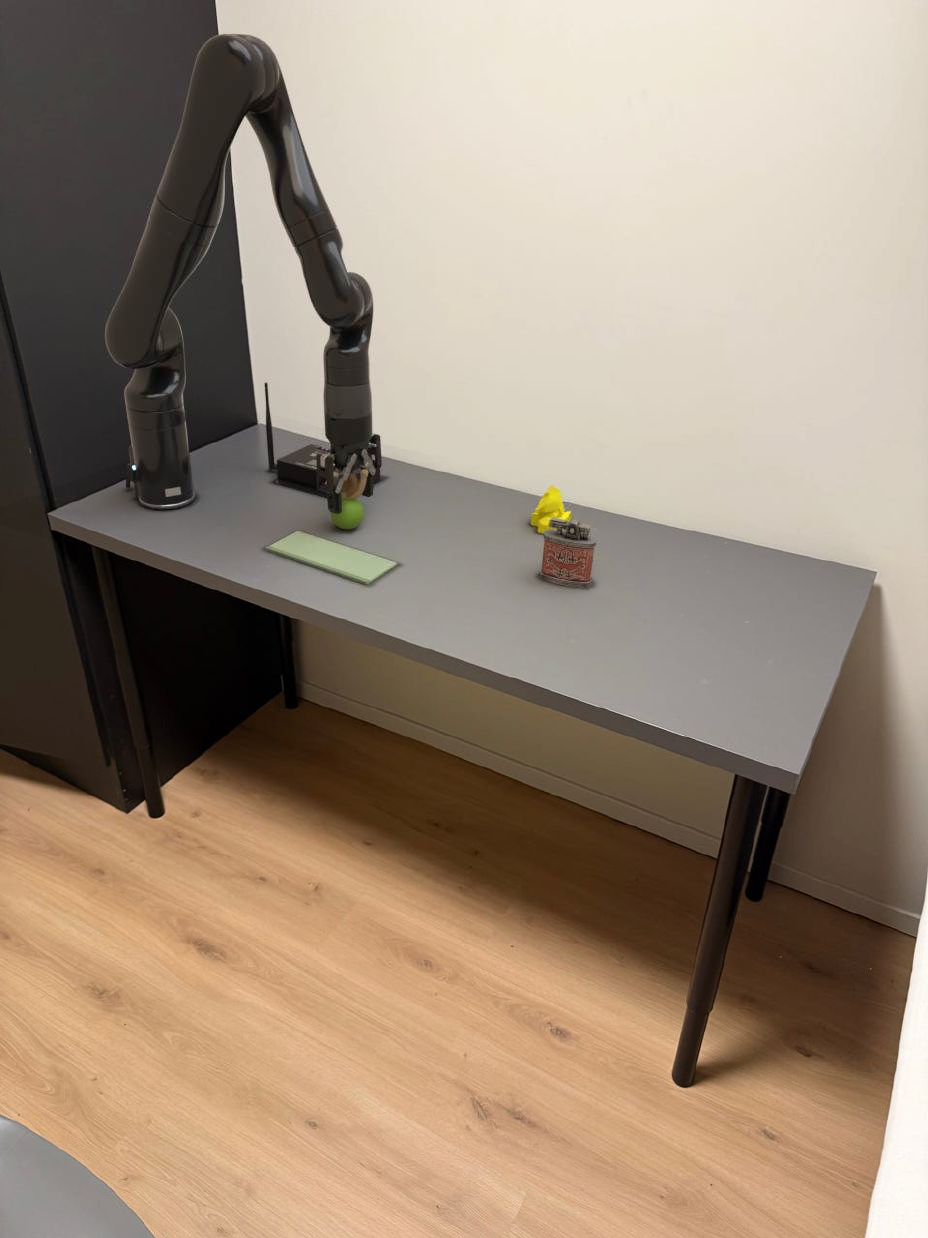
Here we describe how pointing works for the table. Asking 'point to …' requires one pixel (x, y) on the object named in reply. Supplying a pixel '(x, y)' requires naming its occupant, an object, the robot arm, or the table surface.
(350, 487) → the snail figurine
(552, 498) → the crumpled paper
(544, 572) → the lighter
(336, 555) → the front mat
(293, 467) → the wireless controller
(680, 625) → the table surface
